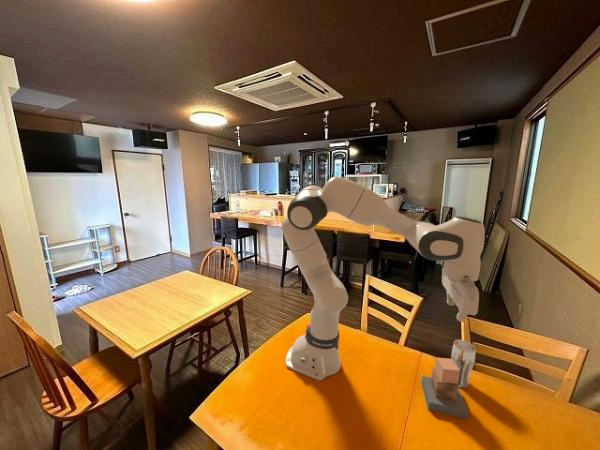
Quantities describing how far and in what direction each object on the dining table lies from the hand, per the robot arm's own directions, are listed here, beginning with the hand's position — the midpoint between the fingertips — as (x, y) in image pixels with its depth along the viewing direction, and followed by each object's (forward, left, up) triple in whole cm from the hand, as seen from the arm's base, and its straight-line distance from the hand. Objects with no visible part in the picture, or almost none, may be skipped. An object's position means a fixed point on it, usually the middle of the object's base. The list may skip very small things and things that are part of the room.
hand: (455, 311), depth 75 cm
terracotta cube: (0, 0, -24) cm, 24 cm away
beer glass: (+8, +10, -33) cm, 35 cm away
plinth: (0, 0, -33) cm, 33 cm away
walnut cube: (0, 0, -30) cm, 30 cm away
